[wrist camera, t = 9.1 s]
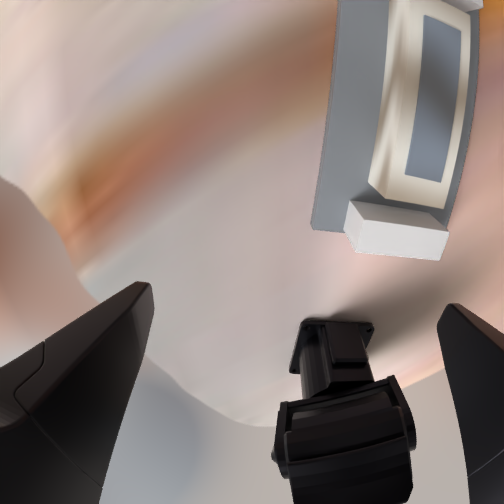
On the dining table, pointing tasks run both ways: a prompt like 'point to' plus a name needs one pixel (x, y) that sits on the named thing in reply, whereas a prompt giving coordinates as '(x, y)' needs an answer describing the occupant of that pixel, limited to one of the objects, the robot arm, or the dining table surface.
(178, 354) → the dining table surface
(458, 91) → the frame
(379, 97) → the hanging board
